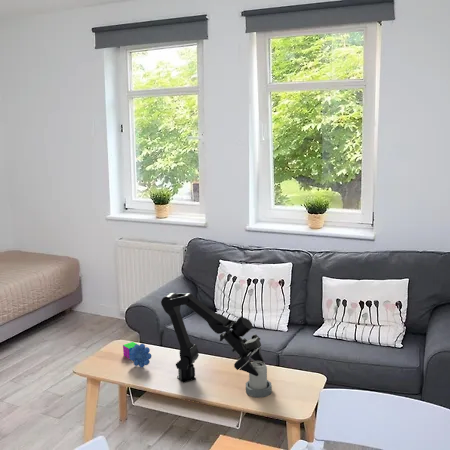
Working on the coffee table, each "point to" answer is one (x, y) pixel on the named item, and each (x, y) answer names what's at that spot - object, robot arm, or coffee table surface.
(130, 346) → the puzzle toy
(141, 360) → the grapes
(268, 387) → the ring holder
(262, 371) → the can
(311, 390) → the coffee table surface
